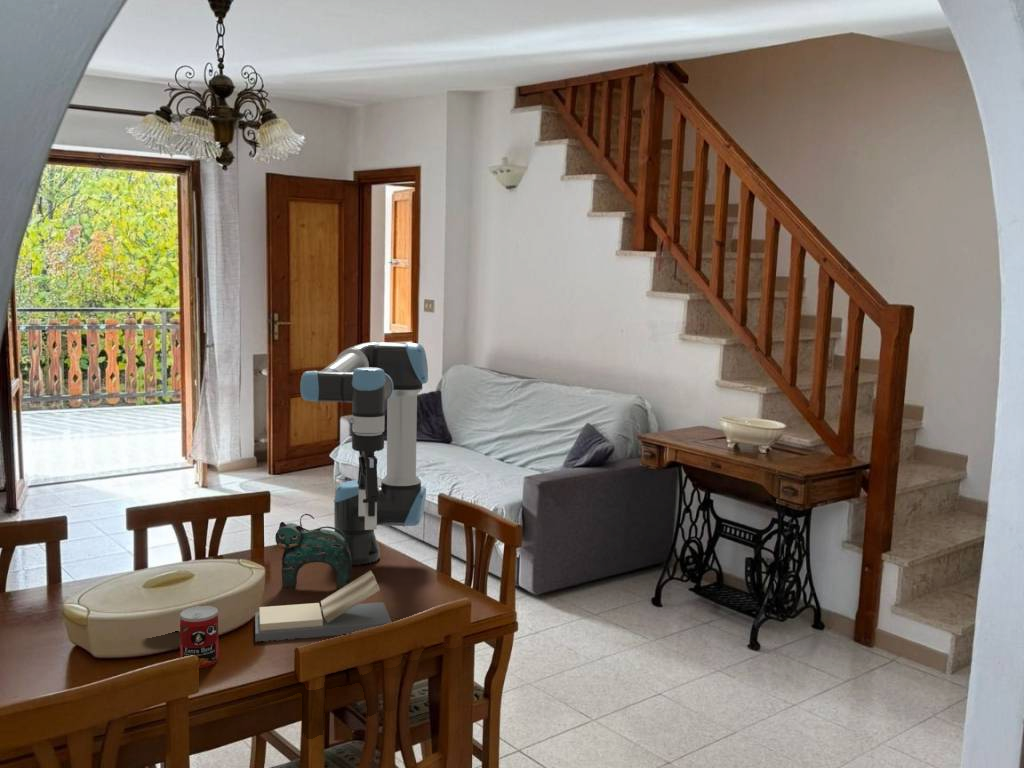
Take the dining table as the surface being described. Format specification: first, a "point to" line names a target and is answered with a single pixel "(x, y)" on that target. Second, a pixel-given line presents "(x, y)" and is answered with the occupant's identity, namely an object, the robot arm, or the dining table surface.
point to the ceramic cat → (312, 551)
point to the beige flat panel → (349, 596)
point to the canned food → (199, 634)
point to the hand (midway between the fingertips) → (367, 522)
